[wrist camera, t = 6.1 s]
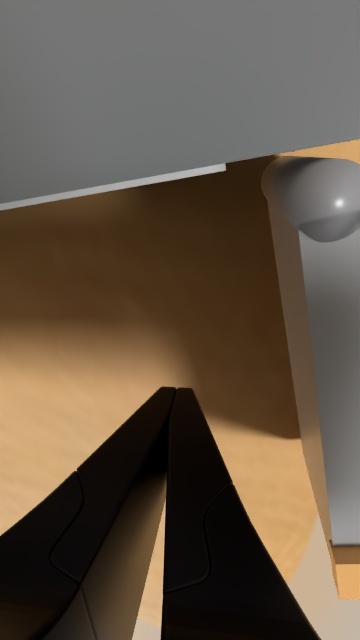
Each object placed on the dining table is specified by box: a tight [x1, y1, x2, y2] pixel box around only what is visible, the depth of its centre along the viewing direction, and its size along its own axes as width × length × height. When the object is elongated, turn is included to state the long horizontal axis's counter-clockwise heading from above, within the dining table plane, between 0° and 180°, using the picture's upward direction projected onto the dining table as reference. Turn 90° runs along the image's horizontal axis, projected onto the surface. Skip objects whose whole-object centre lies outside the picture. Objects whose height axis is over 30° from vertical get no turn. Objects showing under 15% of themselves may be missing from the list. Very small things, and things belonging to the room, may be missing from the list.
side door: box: [261, 156, 360, 599], centre depth 9 cm, size 1×11×5 cm, turn 14°
